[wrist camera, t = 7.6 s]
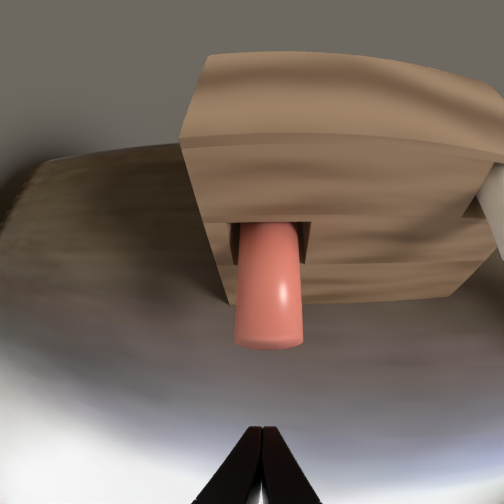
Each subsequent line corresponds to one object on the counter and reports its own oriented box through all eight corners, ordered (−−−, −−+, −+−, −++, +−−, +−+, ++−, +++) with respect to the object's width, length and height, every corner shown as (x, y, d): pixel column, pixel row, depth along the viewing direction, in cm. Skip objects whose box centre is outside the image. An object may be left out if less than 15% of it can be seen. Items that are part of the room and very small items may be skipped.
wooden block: (448, 296, 22) (556, 169, 9) (229, 305, 23) (178, 138, 10) (426, 219, 26) (489, 84, 13) (235, 219, 27) (208, 55, 14)
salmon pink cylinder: (300, 349, 14) (306, 331, 12) (238, 349, 15) (230, 331, 12) (294, 230, 18) (297, 196, 16) (243, 231, 18) (238, 197, 16)
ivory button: (527, 261, 11) (559, 227, 8) (491, 263, 11) (525, 225, 9) (481, 163, 15) (499, 127, 12) (445, 158, 15) (462, 118, 12)
